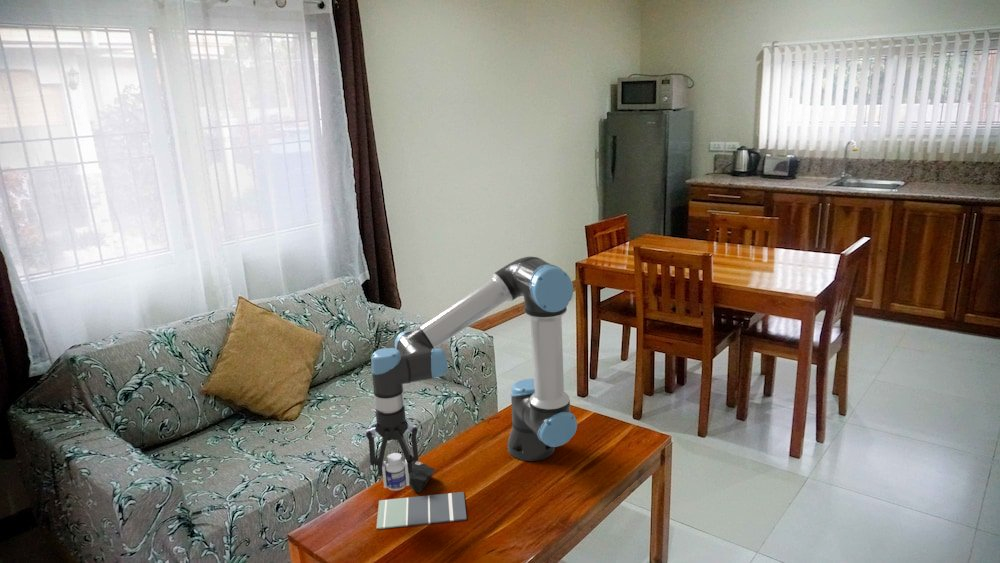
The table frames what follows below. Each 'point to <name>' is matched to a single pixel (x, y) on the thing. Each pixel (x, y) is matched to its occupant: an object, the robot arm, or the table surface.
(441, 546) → the table surface
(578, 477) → the table surface
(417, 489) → the rock
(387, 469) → the pill bottle
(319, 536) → the table surface
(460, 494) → the lane
